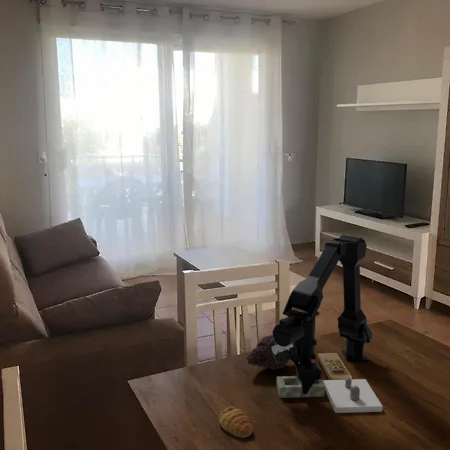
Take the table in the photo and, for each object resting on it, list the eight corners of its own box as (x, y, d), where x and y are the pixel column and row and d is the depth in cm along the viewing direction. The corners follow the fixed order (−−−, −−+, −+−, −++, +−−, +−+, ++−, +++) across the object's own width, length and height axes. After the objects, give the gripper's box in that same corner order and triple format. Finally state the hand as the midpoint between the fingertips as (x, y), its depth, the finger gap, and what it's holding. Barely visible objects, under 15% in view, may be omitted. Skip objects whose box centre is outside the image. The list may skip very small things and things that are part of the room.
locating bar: (279, 397, 139) (280, 387, 138) (276, 386, 144) (276, 376, 144) (324, 396, 139) (324, 386, 139) (319, 385, 145) (319, 375, 144)
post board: (322, 385, 145) (323, 368, 144) (365, 384, 146) (366, 367, 145) (335, 412, 131) (336, 394, 130) (382, 411, 132) (383, 393, 131)
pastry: (260, 433, 123) (260, 419, 122) (237, 443, 120) (237, 428, 119) (237, 415, 131) (237, 401, 130) (215, 424, 127) (215, 410, 126)
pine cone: (255, 382, 147) (255, 349, 145) (237, 368, 155) (237, 337, 153) (305, 367, 155) (306, 336, 153) (285, 355, 164) (286, 325, 162)
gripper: (269, 321, 147) (268, 372, 150) (279, 350, 129) (278, 407, 132) (308, 320, 148) (306, 371, 151) (323, 349, 129) (321, 406, 133)
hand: (302, 387), depth 142 cm, fingers closed on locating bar, 6 cm apart
